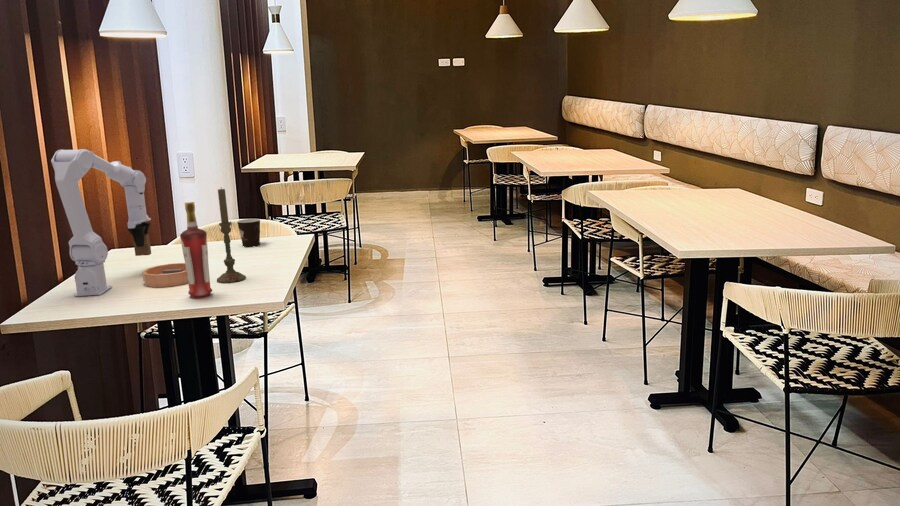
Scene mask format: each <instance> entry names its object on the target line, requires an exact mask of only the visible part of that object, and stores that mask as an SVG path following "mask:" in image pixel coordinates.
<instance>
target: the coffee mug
mask: <svg viewBox="0 0 900 506" xmlns="http://www.w3.org/2000/svg"><path fill="white" fill-rule="evenodd" d="M237 226H238V231H239V235H240V239H241V244H242V247H243V246H244V247H243V248H254V247H253V246H256V247H259V246H260V241H261V235H260V234H261V219H259V218H246V219H245V218H243V219H239V220H237ZM258 245H259V246H258Z"/></svg>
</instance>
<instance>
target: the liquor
mask: <svg viewBox="0 0 900 506" xmlns="http://www.w3.org/2000/svg"><path fill="white" fill-rule="evenodd" d="M184 209H185V211H186V212H185V213H186V230H183V231H182V232H181V233H180V234H179V236H180V237H179V238H180V242H181V244H180V245H181V248H182V254H183V260H184V263H185V265H186V271H187V277H188V283H187V284H188V289H189V290H188V293H187V294H188V295H189V296H191V298H193V299H201V298H205V297H209V295H210V294H211V293H212V292H213V289H212V288H211V280H210V267H209V252H208V251H209V249H208V236H207V232H206V231H205V230H203V229H201V228H199V227H198V226H199V225H198V221H197V217H196V214H195V212H196V205H195V202H194V201H188V202H185V203H184Z"/></svg>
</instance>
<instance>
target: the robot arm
mask: <svg viewBox="0 0 900 506" xmlns="http://www.w3.org/2000/svg"><path fill="white" fill-rule="evenodd" d="M50 162H51V165H52V167H53V170H54V180H55V181H54V182H55V185H56V188H57V191H58V194H59V197H60V199H61V202H62V206H63V209H64V212H65V215H66V218H67V220H68V223H69V226H70V230H71V232H72V235H73V236H72V237H71V238H70V240H69V241H68V246H69V257H70V259H71V261H74V262H75V266H77V270H76V272H75V273H74V282H75V287H76V293H75V294H74V297H83V296H87V297H88V296H101V295H102V294H104V293H106V292H107V291H109V290H111V288H113V285H108V284H107V277H106V271H105V264H104V263H106V260H107V258H108V255H109V250H108V247H107V245H106V244H105V243H104V241H103V239H102V236H100V235H98V233H96V232H94V230H93V228H92V224H91V221H90V218H89V215H88V212H87V210H86V209H87V208H86V205H85V203H84V199H83V196H82V194H81V191H80V188H79V182H80V180H81V179H82V178H83V177H84V176H85V175H86V174H87V173H88V172H89V171H90V170H91V168H92V169H95V170H97V171H101V172H102V173H104V174H105V176H106V178H108V179H110V180H113V181H114V182H117V183H119V184H120V185H119V186H121V187H122V188H124V193H125V194H124V195H125V201H126V208H127V215H128V220H127V221H128V222H126V223H127V231H128V232H129V233H130V234H131V236H132V238H133V239H134V241H135V244H136V246H137V247H143V246H144V234H149V230H150V227H151V222H149V221H151V220H152V218H151V217H149V215H148V214H147V207H146V200H145V198H146V197H145V190H146V188H145V186H146V183H147V177H146V175H145V174H144V173H143V172H142V171H141V170H139V169H138V170H137V169H135V170H134V169H132V167H131V166H127V165H124V164H122V161H120V160H114V161H111V162H110V161H107V160H106V159H104V158H102V157H100V156H98V155H96V154H95V153H94V151H91V150H89V149H86V148H82V149H62V148H61V149H58V150H56V151H55V152H54V155H53V156H52V158H51V160H50ZM133 239H132V240H133ZM134 241H133V242H134Z"/></svg>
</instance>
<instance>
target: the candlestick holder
mask: <svg viewBox="0 0 900 506" xmlns="http://www.w3.org/2000/svg"><path fill="white" fill-rule="evenodd" d="M217 195H218V204H219V205H218V206H219V214H220V221H221V222H219V223H218V226H219V227H220V232H221V233H222V234H223V243H224V247H225V252H226V257H225V258H224V260H223V263H224V266H225V267H226V271H225V272H224V273H222V274H221V275H220V276H219V277H217V278H216V281H217V283H220V284H231V283H232V284H233V283H239V282H242V281H244V280H246V279H247V277H246V274H243V273H241V272H239V271H236V270H235V269H234V265H235V263H236V259H235V258H233V256H232V255H231V251H232V250H231V249H232V248H231V237H230V235H229V234H230V233H231V232H232V228H231V225H232V222H231V221H229V215H228V206H227V198H226V197H227V196H226V189H225V188H222V187H220V189H219V188H218V189H217Z"/></svg>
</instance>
